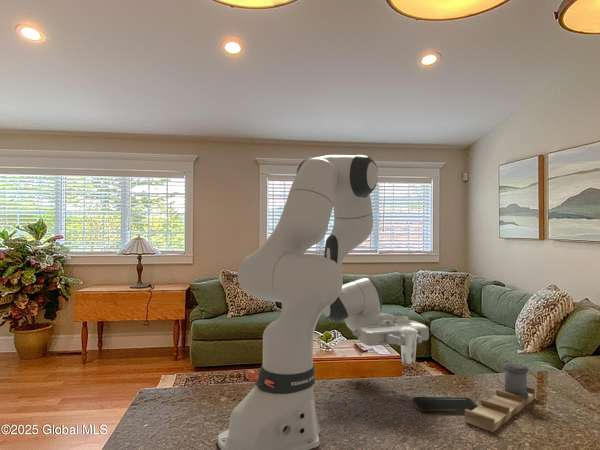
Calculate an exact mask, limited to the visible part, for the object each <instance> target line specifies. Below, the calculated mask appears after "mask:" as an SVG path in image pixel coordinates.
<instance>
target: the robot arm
mask: <svg viewBox="0 0 600 450" xmlns="http://www.w3.org/2000/svg"><path fill="white" fill-rule="evenodd" d="M378 177H379V176H378V167H377V164H376V162H375V161H374V160H373V159H372V158H371V156H367V155H364V154H357V155H349V154H348V155H347V154H328V155H322V156H311V157H308V158H305V159H303V160H302V161H301V162H300V164H299V165H298V167H297V168H296V174H295V177H294V179H293V181H292V184H291V187H290V189H289V191H288V195H287V197H286V198H287V199H286V202H285V204H284V207H283V209H282V213H281V216H280V218H279V220H278V223H277V224H276V226H275V228H274V229H273V230H272V232H271V234H270V235H269V236H268V237H267V239H266V240H265V241H264V242H263V243H262V245H261V246H260V247H258V249H256V250H255V251H254V252H252V253H250V254H249V255H246V256H245V258H243V260H242V261H241V263H240V264H239V267H238V268H239V269H238V270H237V280H238V284H239V287H240V289H241V290H242V292H244V293H245V294H247V295H250V296H252V297H254V298H257V299H259V300H261V301H267V302H268V301H269V302H277V303H281V311H280V315H279V318H277V319H275V320H273V321H271V322H270V323H269V324H268V325H267V326H266V327H265V329H264V331H263V333H262V364H261V366H260V369H259V372H257V371H255V370H252V369H250V370H248V371H247V373H246V379H248V380H249V381H252V382H255V385H254V386H253V388H252V389H251V390H250V391H249V392H247V393H248V394H246V395H245V397H243V398H242V400H241V401H240V402H239V403H238V404H237V405H236V406H235V407H234V408H233V410H232V411H231V414H230V418H229V422H228V423H229V424H228V429H226V430H225V431H223V432H221V433H219V434H218V436H217V445H218V447H219V449H220V450H311V449H315V448H317V447H319V446H320V444H321V443H320V442H321V441H320V437H319V435H320V433H321V427H320V424H319V420H318V416H317V411H316V403H315V402H316V401H315V393H314V385H315V383H316V382H315V381H316V374H315V373H316V372H315V365H314V364H313V361H314V360H313V358H314V357H313V355H314V337H315V330H316V327H317V323H318V322H319V319H320V317H321V315H322V314H323V316H324V317H325V318H327V319H328V320H330V321H332V322H335V323H339V322H341V321H344V323H345V325H346V327H347V328H348V329H349V330H350V331H351V332H352V335H353V336H356V337H357V339H358V341H359V342H360V343H362V344H363V345H365V346H369V347H374V346H389V345H397V346H401V345H405V339H404V338H402V337H400V329H401V328H402V327H411V328H414V329H416V330H417V331H418V334H417V343H416V344H422V343H423V341H428V340H429V337H430V336H429V335H430V331H429V327H428V326H427V325H426V324H424V323H421V322H418V321H415V320H413V319H412V320H411V319H410V318H409V317H408V316H405V315H391V314H389V313H383V312H381V311H382V308H383V307H382V306H383V296H382V292H381V289H380V288H379V286H378V285H377V284H376V283H375V282H374V281H373V280H372V279H370V278H368V277H362V278H358V279H354V280H353V281H350V282H347V283H343V282H344V281H343V280H344V279H343V274H342V273H343V272H342V266H343V262H344V260H345V259H346V257H347V256H348V255H349V254H350V253H351V252H352V251H353V250H355V248H357V247H359V246H360V245H361V244H363V243H364V242H365V241H366V240H367V239H368V238H369V237H370V235H371V233H372V232H373V227H374V215H373V206H372V199H371V194H372V193H373V192H374V190H375V188H376V187H377V183H378ZM332 213H333V217H334V218H333V219H334V220H333V227H332V230H331V232H330V235H329V236H328V237H327V238H326V240H325V244H324V255H323V256H322V255H321V256H320V255H316V254H309V253H308V254H307V253H306V252H307V251H308V250H309V249H310V248H311V247H313V246H315V245H317V244H319V243H320V242H321V241H322V240H323V239H324V238H325V236H326V235H327V230H328V227H329V224H330V220H331V216H332ZM420 325H421V326H420ZM419 327H420V328H419ZM418 329H419V330H418Z"/></svg>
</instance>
